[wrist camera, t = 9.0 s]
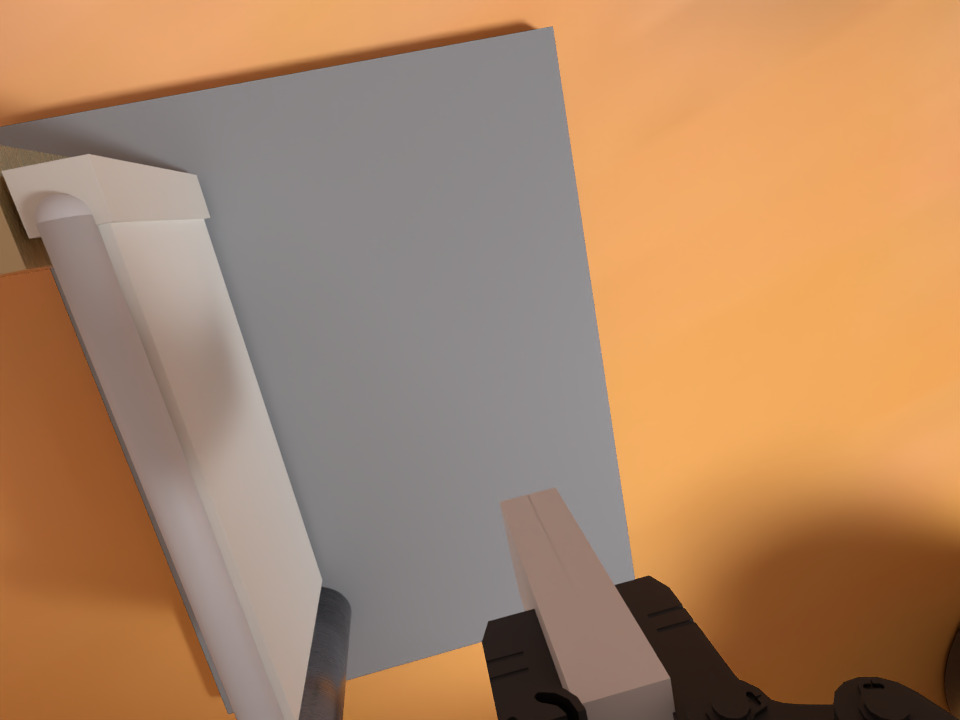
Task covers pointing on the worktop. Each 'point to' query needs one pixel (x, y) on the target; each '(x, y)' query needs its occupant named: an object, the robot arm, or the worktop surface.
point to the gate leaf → (185, 410)
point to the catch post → (19, 219)
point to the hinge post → (327, 659)
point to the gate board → (399, 316)
